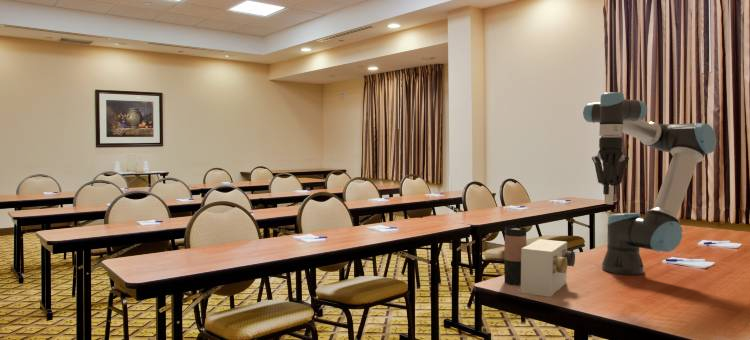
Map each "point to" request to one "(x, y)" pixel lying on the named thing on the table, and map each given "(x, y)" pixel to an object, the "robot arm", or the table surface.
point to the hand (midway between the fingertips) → (609, 203)
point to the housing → (541, 267)
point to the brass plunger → (560, 264)
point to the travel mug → (513, 254)
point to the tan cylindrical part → (569, 257)
